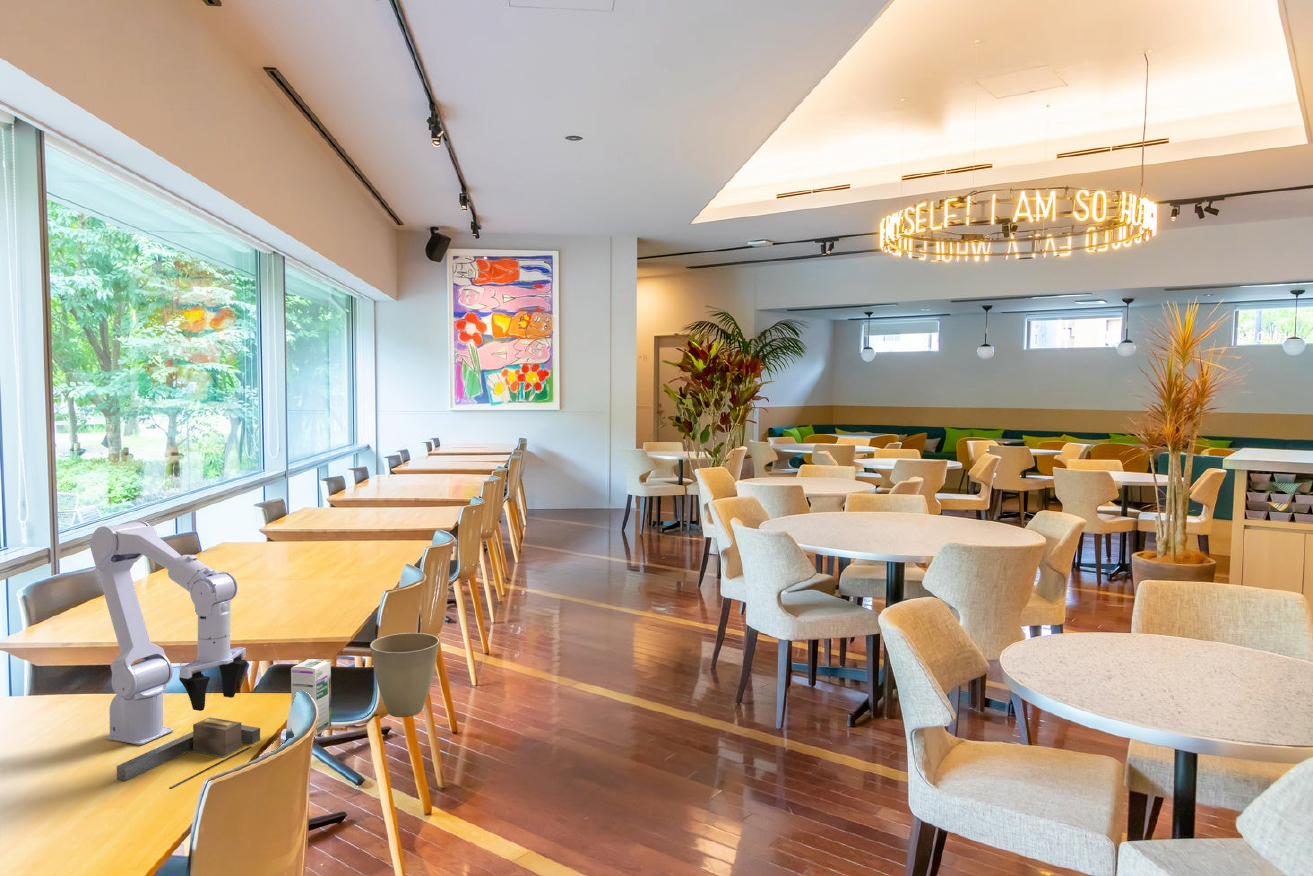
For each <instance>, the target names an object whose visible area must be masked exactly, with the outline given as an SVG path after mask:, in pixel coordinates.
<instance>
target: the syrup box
mask: <svg viewBox="0 0 1313 876" xmlns="http://www.w3.org/2000/svg"><path fill="white" fill-rule="evenodd" d="M331 664H332V663H331V661H330V660H325V659H316V658H315V659H311V658H310V659H309V658H307V659H306V660H304V661H302V662H301V663H298V664H297V665H294V666H292V667H291V668H290V677H291V678H290V681H291V682H290V684H291V685H290V690H291V691H290V692H291V693H290V694H291V697H290V698H291V699H290V702H291V703H290V704H291V706H292V705H293V703H294V699H295V697H296V695H295V694H296V692H299V691H300V690H304V691H305V692H307V693H309V694H310V695H311V697H312V698H313V699H314V700H315V701H316V703H317V705H318V707H319V720H318V727H317V734H316V735H315V738H316V737H317V736H318V735H320V734H322V733H324V732H325V731H326V730H328V729H330V728H331V727H332V683H331V682H332V680H331V679H332V677H331V676H332V674H331V673H332V671H331V669H332V668H331Z"/></svg>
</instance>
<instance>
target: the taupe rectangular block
mask: <svg viewBox="0 0 1313 876" xmlns="http://www.w3.org/2000/svg"><path fill="white" fill-rule="evenodd" d="M241 725H242V722H241V721H234V720H229V719H221V718H215V717H206V718H205V719H203V720H200V721H198V722H195V723H193V725H192V732H193V749H194V750H200V751H205V752H211V753H217V754H222V755H227V754H229V753H231V752H233V751H235V750H237V749H239V748H241V746H242V742H241ZM241 749H242V748H241ZM239 750H240V749H239ZM237 751H238V750H237ZM235 752H236V751H235ZM233 753H234V752H233ZM231 754H232V753H231ZM229 755H230V754H229ZM227 756H228V755H227Z"/></svg>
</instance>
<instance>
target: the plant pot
mask: <svg viewBox="0 0 1313 876" xmlns="http://www.w3.org/2000/svg"><path fill="white" fill-rule="evenodd" d="M439 646H440V639H439V637H437V636H436V635H433V634H429V633H423V632H402V633H395V634H389V635H385V636H382V637H378V638H376V639H374V640H373V641H372V642H371V643H370V644H369V647H370V653H371V660H372V665H373V669H374V674H375V679H376V682H377V686H378V690H379V693H380V695H381V698H382V701H383V703H384V704H383V705H384V707H385V710H386V711H387V714H388V715H390V716H391V717H393V718H408V717H413V716H416V715H418V714H420V713H422V711H423V709H424V706H425V704H426V701H427V699H428V695H429V692H430V689H431V686H432V685H431V684H432V682H433V678H434V673H435V670H436V666H437V665H436V664H437V659H438V653H439Z"/></svg>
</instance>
